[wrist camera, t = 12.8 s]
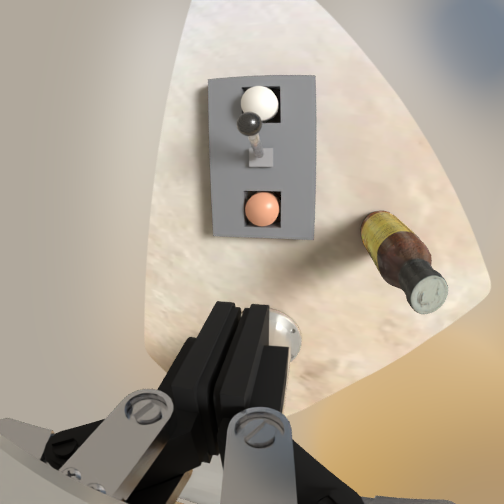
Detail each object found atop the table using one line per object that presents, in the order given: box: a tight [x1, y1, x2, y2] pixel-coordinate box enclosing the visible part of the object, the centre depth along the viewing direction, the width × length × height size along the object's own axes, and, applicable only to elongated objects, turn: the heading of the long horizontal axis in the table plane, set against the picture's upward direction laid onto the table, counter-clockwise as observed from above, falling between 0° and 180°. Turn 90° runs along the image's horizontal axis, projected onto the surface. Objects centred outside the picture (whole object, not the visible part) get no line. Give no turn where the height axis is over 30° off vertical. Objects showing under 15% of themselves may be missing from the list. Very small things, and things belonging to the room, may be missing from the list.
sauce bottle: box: [361, 211, 448, 314], centre depth 33 cm, size 7×6×20 cm
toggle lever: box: [237, 112, 264, 158], centre depth 33 cm, size 3×3×9 cm
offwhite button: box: [241, 86, 279, 122], centre depth 36 cm, size 4×4×4 cm
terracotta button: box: [245, 191, 281, 226], centre depth 42 cm, size 4×4×4 cm
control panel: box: [208, 75, 316, 240], centre depth 40 cm, size 22×14×4 cm, turn 1°
